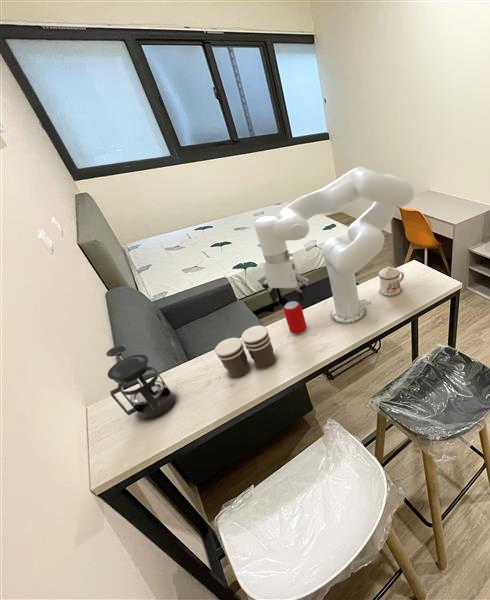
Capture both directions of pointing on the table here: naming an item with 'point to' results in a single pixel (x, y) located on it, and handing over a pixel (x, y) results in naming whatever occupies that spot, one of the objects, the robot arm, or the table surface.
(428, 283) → the table surface
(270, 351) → the cup stacks
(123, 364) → the french press
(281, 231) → the robot arm
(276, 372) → the table surface
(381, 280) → the teacup with lid
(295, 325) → the beverage can
